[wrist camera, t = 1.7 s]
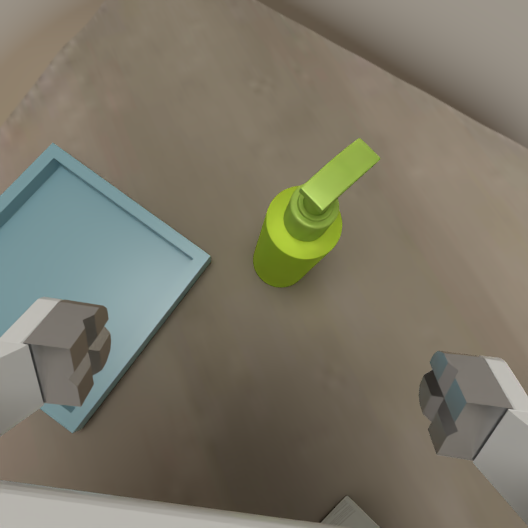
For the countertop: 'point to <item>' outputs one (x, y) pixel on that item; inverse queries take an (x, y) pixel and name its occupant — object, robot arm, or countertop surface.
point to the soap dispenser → (308, 218)
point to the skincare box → (349, 515)
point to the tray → (90, 262)
